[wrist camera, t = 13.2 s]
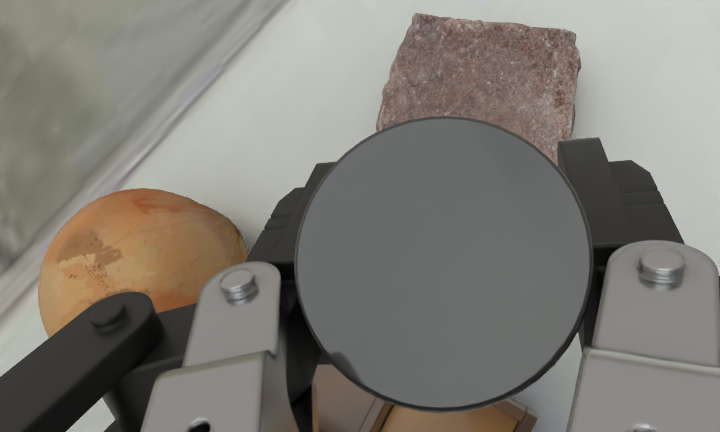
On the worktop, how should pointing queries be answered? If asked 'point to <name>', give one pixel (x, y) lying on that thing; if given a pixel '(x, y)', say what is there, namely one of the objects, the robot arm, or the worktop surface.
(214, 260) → the onion
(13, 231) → the worktop surface
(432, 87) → the stone
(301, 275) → the dark grey cylinder
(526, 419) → the brown compartment tray
